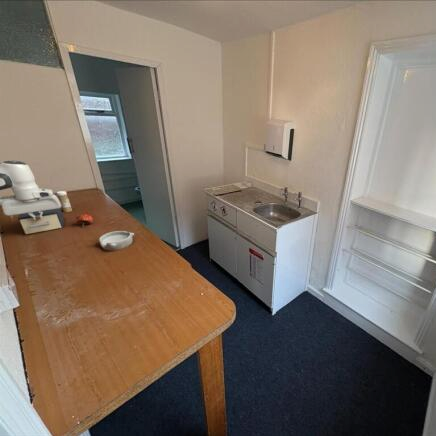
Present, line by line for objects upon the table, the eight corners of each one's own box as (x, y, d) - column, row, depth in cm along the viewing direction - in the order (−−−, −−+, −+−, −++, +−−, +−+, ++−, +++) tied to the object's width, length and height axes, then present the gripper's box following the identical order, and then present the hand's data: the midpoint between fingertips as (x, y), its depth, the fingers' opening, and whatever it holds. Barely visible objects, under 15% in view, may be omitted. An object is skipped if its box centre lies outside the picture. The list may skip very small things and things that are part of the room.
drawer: (60, 230, 126) (55, 217, 123) (24, 237, 118) (18, 223, 115) (62, 219, 140) (57, 206, 137) (29, 224, 131) (23, 211, 128)
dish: (117, 253, 110) (114, 244, 108) (93, 249, 112) (90, 240, 110) (141, 239, 123) (139, 231, 121) (119, 236, 125) (116, 228, 123)
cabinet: (63, 227, 131) (57, 211, 128) (25, 234, 122) (17, 217, 119) (64, 218, 142) (58, 203, 139) (29, 224, 133) (22, 208, 130)
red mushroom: (93, 229, 135) (98, 215, 140) (82, 224, 129) (89, 208, 133) (80, 230, 135) (86, 216, 140) (69, 225, 129) (76, 209, 133)
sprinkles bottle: (61, 212, 151) (54, 192, 145) (66, 210, 155) (59, 190, 149) (69, 212, 151) (62, 192, 146) (74, 210, 156) (67, 190, 150)
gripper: (-6, 199, 107) (7, 226, 113) (55, 192, 120) (64, 216, 125) (-3, 195, 112) (10, 221, 117) (56, 189, 124) (64, 213, 129)
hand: (38, 219), depth 121 cm, fingers closed
